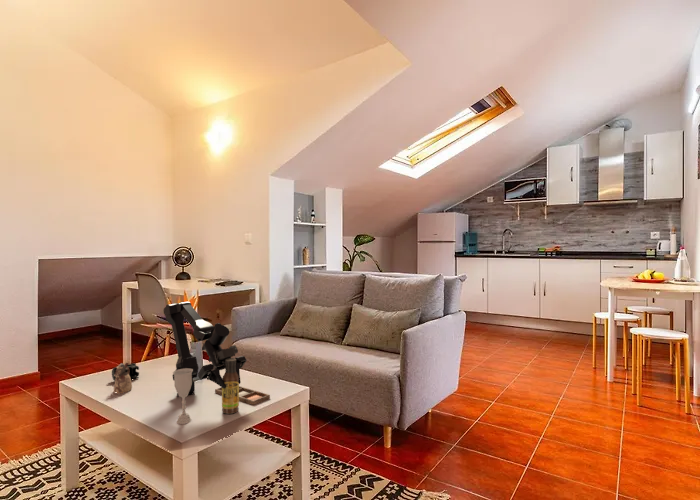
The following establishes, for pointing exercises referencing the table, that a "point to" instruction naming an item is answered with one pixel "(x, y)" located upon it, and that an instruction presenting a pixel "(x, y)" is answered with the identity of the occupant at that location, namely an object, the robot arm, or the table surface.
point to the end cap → (132, 373)
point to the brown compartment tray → (248, 395)
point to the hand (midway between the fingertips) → (232, 385)
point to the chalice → (183, 390)
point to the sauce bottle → (230, 388)
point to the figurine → (122, 379)
